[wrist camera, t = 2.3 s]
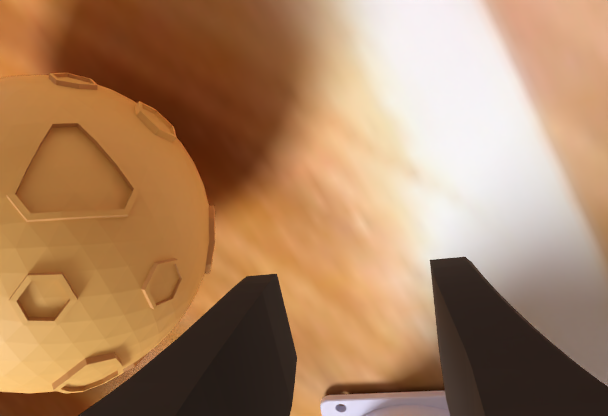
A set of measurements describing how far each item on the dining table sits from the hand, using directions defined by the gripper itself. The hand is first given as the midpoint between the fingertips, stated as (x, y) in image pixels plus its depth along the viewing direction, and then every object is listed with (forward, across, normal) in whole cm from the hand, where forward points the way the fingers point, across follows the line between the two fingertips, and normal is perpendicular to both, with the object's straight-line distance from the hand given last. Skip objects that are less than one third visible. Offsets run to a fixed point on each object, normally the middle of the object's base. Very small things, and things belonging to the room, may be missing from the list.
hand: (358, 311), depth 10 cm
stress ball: (+11, +10, 0) cm, 15 cm away
